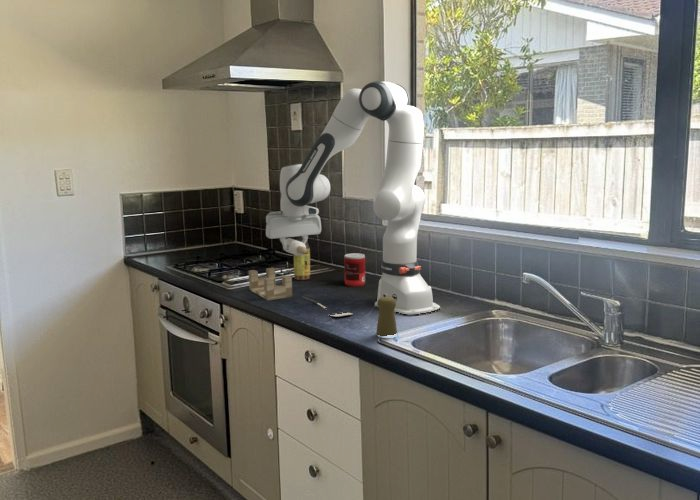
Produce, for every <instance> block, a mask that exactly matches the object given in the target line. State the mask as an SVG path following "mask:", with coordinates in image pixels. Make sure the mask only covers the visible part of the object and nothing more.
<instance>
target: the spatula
mask: <svg viewBox="0 0 700 500" xmlns="http://www.w3.org/2000/svg"><path fill="white" fill-rule="evenodd" d="M301 298H302V299H304V300H305V301H308V302H310V303H312V304H314V305H318V306H320V307H321V308H323V309H325V308H327V307H326V306H325V305H323V304H321V303H320V301H317V300H314V299H311V298H309V297H306V296H302V297H301ZM341 313H342V314H337V313H334V314H335V315H330V314H329V315H330V316H329V317H335V318H337V317H338V318H339V317H344V316H351V315H353V313H351V312H347V313H343V312H341Z"/></svg>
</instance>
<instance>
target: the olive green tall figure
mask: <svg viewBox="0 0 700 500" xmlns="http://www.w3.org/2000/svg"><path fill="white" fill-rule="evenodd" d="M377 305H378V307H377V308H378V318H377V325H376V334H377V335H380V336H387V335H394V334H396V333H397V334H398V330H397V321H396V315H395V314H396V312H394V309H395V307H396V301H395V299H394V298H392V297H381V298H379V300H378V303H377Z"/></svg>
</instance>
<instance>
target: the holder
mask: <svg viewBox="0 0 700 500" xmlns="http://www.w3.org/2000/svg"><path fill="white" fill-rule="evenodd" d="M265 274H266V275H265V276H261V277H259V272H258V271H257V270H255V269H252V270H248V284H249V285H248V286H249V288H248V289H249V290H250V291H251V292H253V293H255V294H256V295H257V296H259V297H261V298H263V299H265V300H266V301H273V300H281V299H288V298H293V281H292V280H293V277H292V276H290V275H282V276H281V282H282V283H281V284H280V285H279V284H278V285H277V284H276V281H277V280H276V269H275V268H273V267H268V268H265Z"/></svg>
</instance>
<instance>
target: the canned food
mask: <svg viewBox="0 0 700 500" xmlns="http://www.w3.org/2000/svg"><path fill="white" fill-rule="evenodd" d="M343 259H344V260H343V261H344V262H343V263H344V264H343V266H344V267H343V268H344V284H345V286H348V287H352V288H353V287H355V288H357V287H362V286H364V285H365V284H366V256H365V254H364V253H359V252H357V253H355V252H353V253H346V254H345V255H344V257H343Z"/></svg>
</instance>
